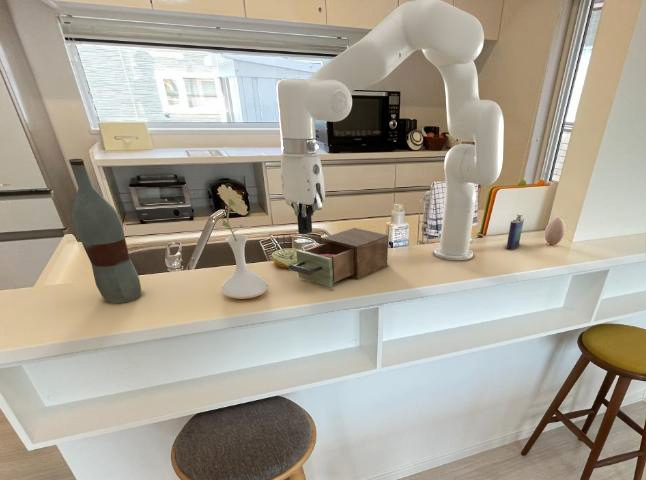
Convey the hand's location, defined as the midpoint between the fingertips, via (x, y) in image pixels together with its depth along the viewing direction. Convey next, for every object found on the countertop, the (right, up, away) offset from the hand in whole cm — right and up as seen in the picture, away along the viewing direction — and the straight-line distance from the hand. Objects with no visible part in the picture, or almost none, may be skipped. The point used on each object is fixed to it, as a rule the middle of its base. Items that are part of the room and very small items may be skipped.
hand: (305, 232), depth 103 cm
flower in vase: (-16, -14, +4) cm, 22 cm away
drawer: (+3, -8, +11) cm, 14 cm away
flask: (+65, +11, +44) cm, 79 cm away
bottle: (-45, -16, 0) cm, 48 cm away
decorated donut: (-9, -2, +23) cm, 24 cm away
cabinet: (+11, -3, +21) cm, 24 cm away
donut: (+4, -7, +12) cm, 14 cm away
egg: (+80, +13, +47) cm, 94 cm away
